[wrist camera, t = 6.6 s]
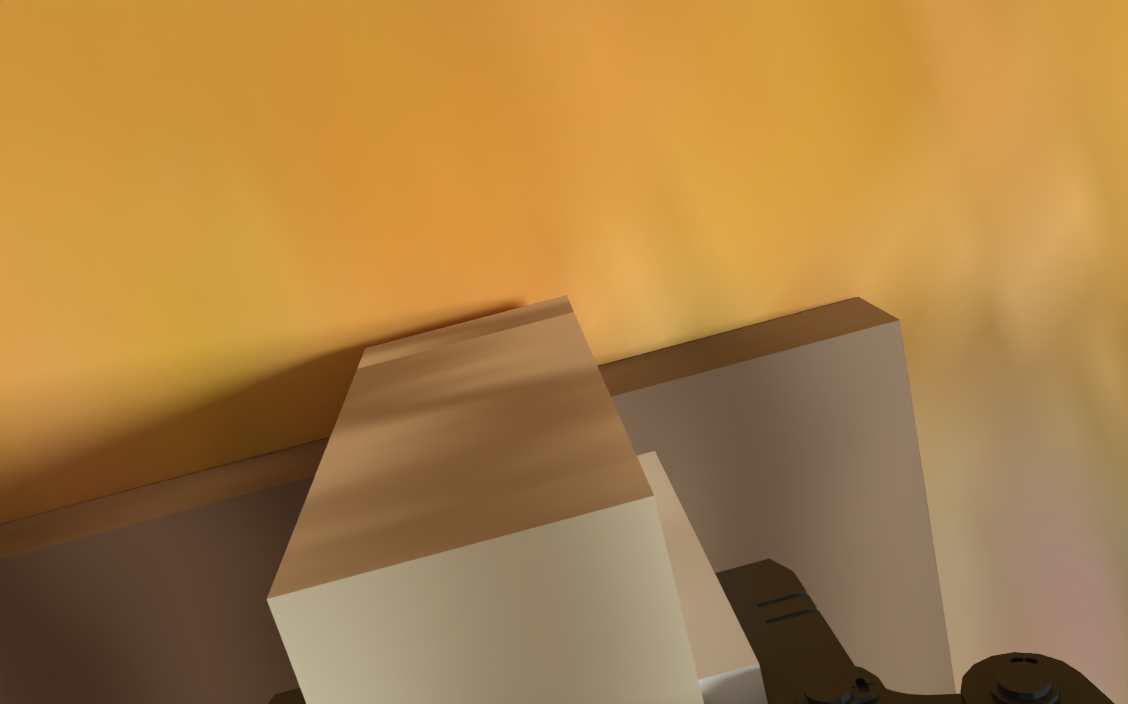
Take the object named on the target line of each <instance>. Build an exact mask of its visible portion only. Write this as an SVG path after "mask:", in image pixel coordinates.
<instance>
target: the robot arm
mask: <svg viewBox="0 0 1128 704" xmlns="http://www.w3.org/2000/svg"><path fill="white" fill-rule="evenodd" d="M637 458H638V460H639V462H640V464H641V467H642V469H643V471H644V474H645V476H646V478H647V480H648V483H649V485H650V487H651V489H652V492H653V494H654V497H655V501H656V505H657V509H658V514H659V518H660V522H661V526H662V530H663V535H664V539H665V543H666V547H667V551H668V555H669V560H670V564H671V568H672V572H673V576H674V580H675V585H676V589H677V593H678V597H679V601H680V605H681V610H682V614H683V618H684V622H685V626H686V631H687V635H688V639H689V643H690V647H691V651H692V656H693V660H694V664H695V668H696V672H697V676H698V681H699V685H700V689H701V693H702V697H703V701H704V704H1114V703H1113V702H1112V701H1111V700H1110V699H1109V698H1108V697H1107V696H1106V695H1105V694H1103V693H1102V692H1101V691H1100V690H1099V689H1098V688H1097V687H1096V686H1095V685H1094V684H1092V683H1091V682H1090V681H1089V680H1088V679H1087V678H1086V677H1085V676H1084V675H1082V674H1081V673H1080V672H1079V671H1077V670H1076V669H1074V668H1072V667H1071V666H1069V665H1068V664H1066V663H1064V662H1063V661H1060V660H1057V659H1054V658H1051V657H1047V656H1044V655H1041V654H1032V653H1017V652H1013V653H1007V654H1001V655H995V656H991V657H989V658H986V659H984V660H982V661H980V662H978V663H976V664H974V665H973V666H972V667H971V668H970V669H969V670H968V672H967V673H966V674H965V675H964V676H963V678H962V685H961V694H937V695H920V694H907V693H902V692H897V691H892V690H889V689H887V688H885V686H884V685H883V683H882V682H881V680H880V679H879V677H877V676H876V675H874V674H872V673H871V672H869V671H867V670H866V669H864V668H862V667H858V666H855V665H854V663H853V662H852V660H851V659H850V657H849V656H848V654H847V653H846V651H845V650H844V648H843V647H842V645H841V643H840V642H839V640H838V639H837V637H836V636H835V634H834V633H833V631H832V630H831V628H830V627H829V625H828V624H827V622H826V620H825V619H824V617H823V616H822V614H821V613H820V611H818V610H817V607H816V605H815V604H814V602H813V600H812V599H811V597H810V596H809V595H807V592H806V590H805V588H804V587H803V585H802V584H801V582H800V581H799V579H798V577H797V576H796V574H795V573H794V571H792V570H790V569H788V568H786V567H784V566H783V565H781V564H779V563H777V562H775V561H773V560H772V559H770V558H769V559H765V560H762V561H758V562H754V563H751V564H747V565H743V566H739V567H736V568H732V569H728V570H725V571H721V572H717V573H714V571H713V569H712V567H711V564H710V562H709V560H708V558H707V556H706V554H705V552H704V550H703V548H702V546H701V544H700V542H699V540H698V538H697V536H696V534H695V532H694V530H693V528H692V526H691V524H690V522H689V520H688V518H687V516H686V513H685V511H684V509H683V507H682V505H681V503H680V501H679V499H678V497H677V495H676V493H675V491H674V489H673V487H672V485H671V483H670V481H669V479H668V477H667V475H666V473H665V471H664V469H663V467H662V465H661V462H660V460H659V458H658V456H657V454H656V452H655V451H653V452H649V453H645V454H641V455H638V456H637ZM268 704H306V701H305V699H304V696H303V694H302V691H301V688H296V689H293V690H289V691H285V692H282V693H278V694H275V695H274V697H273V698H272V699H271V700H270V702H269V703H268Z"/></svg>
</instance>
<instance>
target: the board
mask: <svg viewBox="0 0 1128 704" xmlns="http://www.w3.org/2000/svg"><path fill="white" fill-rule="evenodd" d="M598 368H599V371H600V373H601V375H602V378H603V380H604V382H605V384H606V387H607V389H608V391H609V394H610V396H611V398H612V400H613V403H614V405H615V407H616V410H617V412H618V414H619V416H620V419H621V421H622V423H623V426H624V428H625V430H626V432H627V435H628V437H629V439H630V442H631V444H632V446H633V448H634V451H635V453H636V455H637V456H638V455H641V454H645V453H649V452H653V451H655V452H656V454H657V456H658V458H659V460H660V462H661V465H662V467H663V469H664V471H665V473H666V475H667V477H668V479H669V481H670V483H671V485H672V487H673V489H674V491H675V493H676V495H677V497H678V499H679V501H680V503H681V505H682V507H683V509H684V511H685V513H686V516H687V518H688V520H689V522H690V524H691V526H692V528H693V530H694V532H695V534H696V536H697V538H698V540H699V542H700V544H701V546H702V548H703V550H704V552H705V554H706V556H707V558H708V560H709V562H710V564H711V567H712V569H713V571H714V573H717V572H721V571H725V570H728V569H732V568H736V567H739V566H743V565H747V564H751V563H754V562H758V561H762V560H765V559H769V558H770V559H772V560H773V561H775V562H777V563H779V564H781V565H783V566H784V567H786V568H788V569H790V570H792V571H794V573H795V574H796V576H797V577H798V579H799V581H800V582H801V584H802V585H803V587H804V588H805V590H806V592H807V595H809V596H810V597H811V599H812V600H813V602H814V604H815V605H816V607H817V610H818V611H820V613H821V614H822V616H823V617H824V619H825V620H826V622H827V624H828V625H829V627H830V628H831V630H832V631H833V633H834V634H835V636H836V637H837V639H838V640H839V642H840V643H841V645H842V647H843V648H844V650H845V651H846V653H847V654H848V656H849V657H850V659H851V660H852V662H853V663H854V665H855V666H858V667H862V668H864V669H866V670H867V671H869V672H871V673H872V674H874V675H876V676H877V677H879V679H880V680H881V682H882V683H883V685H884V686H885V688H887V689H889V690H892V691H897V692H902V693H907V694H920V695H937V694H956V691H955V684H954V678H953V671H952V664H951V658H950V651H949V644H948V638H947V631H946V624H945V618H944V611H943V604H942V598H941V591H940V584H939V578H938V571H937V564H936V558H935V551H934V545H933V538H932V531H931V525H930V518H929V511H928V505H927V498H926V491H925V485H924V478H923V471H922V465H921V458H920V451H919V445H918V438H917V431H916V425H915V418H914V411H913V405H912V398H911V391H910V385H909V378H908V371H907V365H906V358H905V352H904V345H903V338H902V332H901V325H900V320H899V319H897V318H895V317H893V316H892V315H890V314H888V313H886V312H885V311H883V310H881V309H879V308H877V307H876V306H874V305H872V304H870V303H868V302H867V301H865V300H863V299H861V298H860V297H857V298H853V299H850V300H846V301H842V302H838V303H835V304H831V305H827V306H823V307H820V308H816V309H812V310H808V311H804V312H801V313H797V314H793V315H789V316H786V317H782V318H778V319H774V320H770V321H767V322H763V323H759V324H755V325H752V326H748V327H744V328H740V329H737V330H733V331H729V332H725V333H721V334H718V335H714V336H710V337H706V338H703V339H699V340H695V341H691V342H687V343H684V344H680V345H676V346H672V347H669V348H665V349H661V350H657V351H654V352H650V353H646V354H642V355H638V356H635V357H631V358H627V359H623V360H620V361H616V362H612V363H608V364H604V365H601V366H598ZM329 439H330V437H329V438H325V439H321V440H318V441H314V442H310V443H306V444H303V445H299V446H295V447H291V448H288V449H284V450H280V451H276V452H272V453H269V454H265V455H261V456H257V457H254V458H250V459H246V460H242V461H238V462H235V463H231V464H227V465H223V466H220V467H216V468H212V469H208V470H205V471H201V472H197V473H193V474H189V475H186V476H182V477H178V478H174V479H171V480H167V481H163V482H159V483H155V484H152V485H148V486H144V487H140V488H137V489H133V490H129V491H125V492H122V493H118V494H114V495H110V496H106V497H103V498H99V499H95V500H91V501H88V502H84V503H80V504H76V505H72V506H69V507H65V508H61V509H57V510H54V511H50V512H46V513H42V514H38V515H35V516H31V517H27V518H23V519H20V520H16V521H12V522H8V523H5V524H1V525H0V704H268V703H269V702H270V700H271V699H272V698H273V697H274V695H275V694H278V693H282V692H285V691H289V690H293V689H296V688H300V686H299V683H298V680H297V678H296V675H295V673H294V670H293V667H292V665H291V662H290V659H289V657H288V654H287V652H286V649H285V646H284V644H283V641H282V638H281V636H280V633H279V630H278V628H277V625H276V623H275V620H274V617H273V615H272V612H271V609H270V607H269V604H268V602H267V597H268V594H269V592H270V589H271V587H272V584H273V582H274V579H275V577H276V574H277V571H278V569H279V566H280V564H281V561H282V559H283V556H284V554H285V551H286V549H287V546H288V543H289V541H290V538H291V536H292V533H293V531H294V528H295V526H296V523H297V521H298V518H299V516H300V513H301V510H302V508H303V505H304V503H305V500H306V498H307V495H308V493H309V490H310V488H311V485H312V482H313V480H314V477H315V475H316V472H317V470H318V467H319V465H320V462H321V460H322V457H323V454H324V452H325V449H326V447H327V444H328V442H329Z"/></svg>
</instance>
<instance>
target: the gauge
mask: <svg viewBox="0 0 1128 704" xmlns="http://www.w3.org/2000/svg"><path fill="white" fill-rule="evenodd" d="M267 602H268V604H269V607H270V609H271V612H272V615H273V617H274V620H275V623H276V625H277V628H278V630H279V633H280V636H281V638H282V641H283V644H284V646H285V649H286V652H287V654H288V657H289V659H290V662H291V665H292V667H293V670H294V673H295V675H296V678H297V680H298V683H299V686H300V688H301V691H302V694H303V696H304V699H305V701H306V704H704V701H703V697H702V693H701V689H700V685H699V681H698V676H697V672H696V668H695V664H694V660H693V656H692V651H691V647H690V643H689V639H688V635H687V631H686V626H685V622H684V618H683V614H682V610H681V605H680V601H679V597H678V593H677V589H676V585H675V580H674V576H673V572H672V568H671V564H670V560H669V555H668V551H667V547H666V543H665V539H664V535H663V530H662V526H661V522H660V518H659V514H658V509H657V505H656V501H655V497H654V494H653V492H652V489H651V487H650V485H649V483H648V480H647V478H646V476H645V474H644V471H643V469H642V467H641V464H640V462H639V460H638V458H637V455H636V453H635V451H634V448H633V446H632V444H631V442H630V439H629V437H628V435H627V432H626V430H625V428H624V426H623V423H622V421H621V419H620V416H619V414H618V412H617V410H616V407H615V405H614V403H613V400H612V398H611V396H610V394H609V391H608V389H607V387H606V384H605V382H604V380H603V378H602V375H601V373H600V371H599V368H598V366H597V364H596V362H595V359H594V357H593V355H592V352H591V350H590V348H589V346H588V343H587V341H586V339H585V337H584V334H583V332H582V330H581V327H580V325H579V323H578V321H577V318H576V316H575V314H574V311H573V309H572V307H571V305H570V302H569V300H568V298H567V295H566V296H562V297H558V298H554V299H551V300H547V301H543V302H539V303H535V304H532V305H528V306H524V307H520V308H516V309H512V310H509V311H505V312H501V313H497V314H493V315H490V316H486V317H482V318H478V319H474V320H471V321H467V322H463V323H459V324H455V325H451V326H448V327H444V328H440V329H436V330H432V331H429V332H425V333H421V334H417V335H413V336H410V337H406V338H402V339H398V340H394V341H390V342H387V343H383V344H379V345H375V346H371V347H368V348H365V350H364V353H363V355H362V358H361V360H360V363H359V365H358V368H357V371H356V373H355V376H354V378H353V381H352V383H351V386H350V388H349V391H348V393H347V396H346V398H345V401H344V404H343V406H342V409H341V411H340V414H339V416H338V419H337V421H336V424H335V426H334V429H333V432H332V434H331V437H330V439H329V442H328V444H327V447H326V449H325V452H324V454H323V457H322V460H321V462H320V465H319V467H318V470H317V472H316V475H315V477H314V480H313V482H312V485H311V488H310V490H309V493H308V495H307V498H306V500H305V503H304V505H303V508H302V510H301V513H300V516H299V518H298V521H297V523H296V526H295V528H294V531H293V533H292V536H291V538H290V541H289V543H288V546H287V549H286V551H285V554H284V556H283V559H282V561H281V564H280V566H279V569H278V571H277V574H276V577H275V579H274V582H273V584H272V587H271V589H270V592H269V594H268V597H267Z"/></svg>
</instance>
